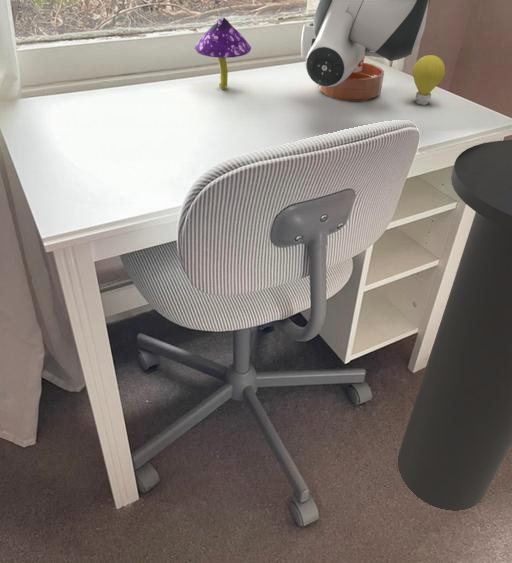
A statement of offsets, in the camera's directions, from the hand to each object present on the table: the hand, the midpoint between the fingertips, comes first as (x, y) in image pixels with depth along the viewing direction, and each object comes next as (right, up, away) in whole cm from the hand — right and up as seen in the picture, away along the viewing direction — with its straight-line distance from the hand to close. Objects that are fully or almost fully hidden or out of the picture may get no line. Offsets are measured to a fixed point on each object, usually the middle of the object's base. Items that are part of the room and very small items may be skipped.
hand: (357, 31), depth 116 cm
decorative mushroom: (-30, -10, +7) cm, 32 cm away
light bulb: (+15, -15, +3) cm, 21 cm away
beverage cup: (-1, -7, +4) cm, 8 cm away
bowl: (-1, -11, +7) cm, 13 cm away
